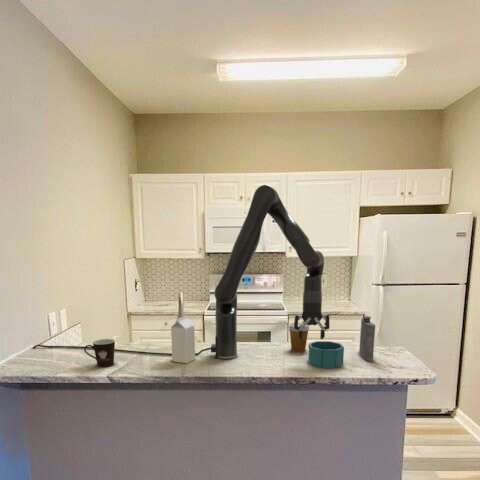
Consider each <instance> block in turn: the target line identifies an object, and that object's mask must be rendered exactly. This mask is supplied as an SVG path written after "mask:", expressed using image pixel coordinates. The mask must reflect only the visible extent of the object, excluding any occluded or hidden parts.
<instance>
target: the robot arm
mask: <svg viewBox="0 0 480 480" xmlns="http://www.w3.org/2000/svg"><path fill="white" fill-rule="evenodd" d="M267 215H269V216H270V217H271V219H272V220H273V221H274V222H275V223H276V224H277V226H278V227H279V229H280V231H281V233H282V234H283V236H284V237H285V239H286V241H288V243H289V245H290V246H291V247H292V248H293V249H294V251H295V253H296V255H297V257H298V259H299V260H300V262H301V264H302V265H303V266H304V267H305V268H306V274H305V276H304V279H303V292H302V312H301V314H297V313H296V314H294V321H293V323H294V328H295V329H297V330H298V337H299V338H300V340H302V329H303V328H304V327H305V326H306V325H309V326H318V327H319V328H320V334H319V335H320V337H319V338H320V340H324V338H325V337H326V331H327V330H329V329H330V315H329V314H328V313H325V314H322V308H323V307H322V306H323V304H322V303H323V293H322V292H323V291H322V286H323V285H322V284H323V283H322V282H323V281H322V278H323V273H324V267H325V257H324V255H323V253H322V252H321V251H319V250H315V249H314V248H313V246H312V245H311V243H310V242H311V240H310V239H309V237H308V236H307V234H306V233H305V232H304V230H303V229H302V228H301V227H300V225H299V224H298V222H297V221H296V220H295V219H294V218H293V217H292V216H291V214H290V213H289V212H288V210H287V209H286V207H285V205H284V204H283V202H282V200H281V198H280V195H279V193H278V191H277V190H276V189H275V188H274V187H273V186H271V185H269V184H261V185H260V186H258V187H257V188H256V190H255V191H254V193H253V196H252V200H251V202H250V206H249V209H248V212H247V214H246V217H245V220H244V221H243V224H242V225H241V228H240V230H239V232H238V235H237V236H236V239H235V241H234V244H233V247H232V248H231V252H230V254H229V258H228V262H227V265H226V268H225V270H224V272H223V273H222V274H223V275H222V276H221V278H220V279H219V282H218V283H217V285H216V287H215V288H214V294H213V295H214V298H215V312H214V313H215V314H214V315H215V336H214V340H215V341H214V343H213V344H211V346H210V347H207V348H204V349H201V350H200V351H198V352H195V356H199V355H201V354H202V353H203V352H205V351H210V353H215V359H220V360H232V359H235V358H237V357H238V323H237V322H238V321H237V320H238V288H239V285H240V282H241V280H242V277H243V275H244V274H245V272H246V270H247V268H248V267H249V265H250V263H251V262H252V259H253V258H254V255H255V253H256V251H257V248H258V246H259V243H260V240H261V235H262V229H263V225H264V221H265V219H266V217H267ZM301 319H302V322H300V323H301V325H300V326H298V323H299V321H300V320H301ZM322 319H323V320H324V325H323V324H322V323H321V320H322ZM38 347H40V348H41V347H42V348H49V349H51V348H61V349H64V348H65V349H84V348H85V346H80V345H79V346H76V345H75V346H74V345H73V346H72V345H45V344H36V345H34V346H33V347H32V349H35V348H38ZM88 349H89V350H94V349H93V348H92V347H90V346H88V347H86V350H88ZM114 352H122V353H134V354H143V355H144V354H145V355H159V356H160V355H161V356H172V352H171V353H168V352H154V351H153V352H150V351H137V350H128V349H118V348H115V349H114Z"/></svg>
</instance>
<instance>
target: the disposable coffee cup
mask: <svg viewBox="0 0 480 480" xmlns="http://www.w3.org/2000/svg"><path fill="white" fill-rule="evenodd" d="M301 323H302V322H298V326H300V325H301ZM288 330H289V339H290V347H291V351H292V352H296V353H303V352H305V351H306V347H307V341H308V334H309V331H310V325H306V326H305V327H304V328H303V329H302V340H300V338H299V337H298V330H297V329H295V328H294V322H293V323H290V324H289V326H288Z"/></svg>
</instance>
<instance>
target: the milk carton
mask: <svg viewBox="0 0 480 480" xmlns="http://www.w3.org/2000/svg"><path fill="white" fill-rule="evenodd" d="M170 335H171V354H172V355H171V359H172V362H175V363H182V364H188V363H190V362H192V361H194V360H195V359H196V355H195V354H196V341H195V324H193V322H192V321H191V320H190V319H189V318H188V315H185V316H181V317H178V318H177V320H175V323H174V324H173V325H172V326H171V327H170Z"/></svg>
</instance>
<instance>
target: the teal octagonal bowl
mask: <svg viewBox="0 0 480 480" xmlns="http://www.w3.org/2000/svg"><path fill="white" fill-rule="evenodd" d="M344 353H345V347H344V345H343V344H342V343H338V342H335V341H332V340H331V341H329V340H322V341H321V340H317V341H313V342H310V343H308V355H307V356H308V357H307V359H308V363H309V365H311V366H313V367H315V368H320V369H321V368H322V369H335V368H340V367H341V366H343V364H344V355H345V354H344Z"/></svg>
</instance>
